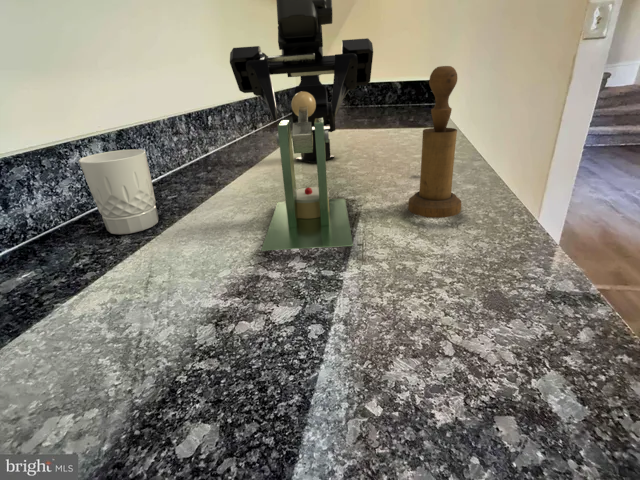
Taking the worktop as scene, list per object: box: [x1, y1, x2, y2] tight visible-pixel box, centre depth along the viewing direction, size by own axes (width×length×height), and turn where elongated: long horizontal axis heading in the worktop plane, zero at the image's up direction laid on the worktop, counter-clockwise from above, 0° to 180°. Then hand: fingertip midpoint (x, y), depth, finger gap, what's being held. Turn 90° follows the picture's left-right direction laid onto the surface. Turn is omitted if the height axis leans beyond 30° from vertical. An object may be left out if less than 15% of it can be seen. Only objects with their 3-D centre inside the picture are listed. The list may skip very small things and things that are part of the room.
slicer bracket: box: [260, 118, 354, 252], centre depth 44 cm, size 16×10×13 cm, turn 0°
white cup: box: [78, 148, 160, 235], centre depth 50 cm, size 8×8×10 cm
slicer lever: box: [290, 92, 316, 154], centre depth 45 cm, size 11×3×3 cm, turn 0°
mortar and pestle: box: [407, 65, 462, 219], centre depth 44 cm, size 7×6×18 cm
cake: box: [296, 187, 330, 219], centre depth 48 cm, size 5×5×3 cm
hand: (304, 116), depth 47 cm, fingers open, 7 cm apart
